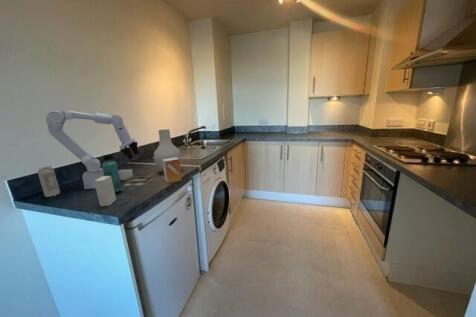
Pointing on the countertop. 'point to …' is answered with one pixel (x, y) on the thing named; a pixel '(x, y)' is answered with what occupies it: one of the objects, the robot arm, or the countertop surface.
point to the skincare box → (105, 190)
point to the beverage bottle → (112, 171)
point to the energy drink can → (48, 181)
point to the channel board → (138, 181)
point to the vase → (165, 148)
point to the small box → (172, 170)
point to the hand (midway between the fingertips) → (134, 156)
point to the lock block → (125, 174)
